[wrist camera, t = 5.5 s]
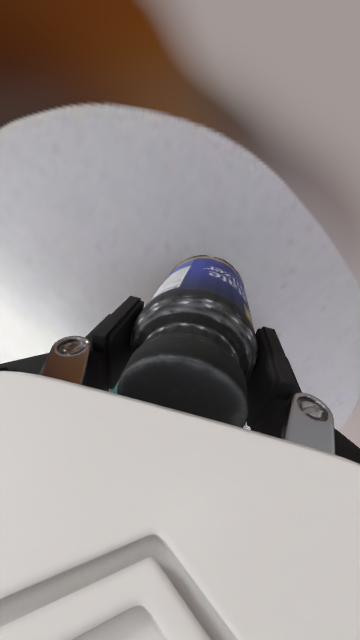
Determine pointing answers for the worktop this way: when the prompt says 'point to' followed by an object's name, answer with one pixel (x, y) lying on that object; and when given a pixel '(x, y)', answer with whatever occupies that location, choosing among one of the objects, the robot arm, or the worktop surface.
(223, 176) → the worktop surface
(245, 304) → the pill bottle
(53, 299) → the worktop surface
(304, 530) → the robot arm
